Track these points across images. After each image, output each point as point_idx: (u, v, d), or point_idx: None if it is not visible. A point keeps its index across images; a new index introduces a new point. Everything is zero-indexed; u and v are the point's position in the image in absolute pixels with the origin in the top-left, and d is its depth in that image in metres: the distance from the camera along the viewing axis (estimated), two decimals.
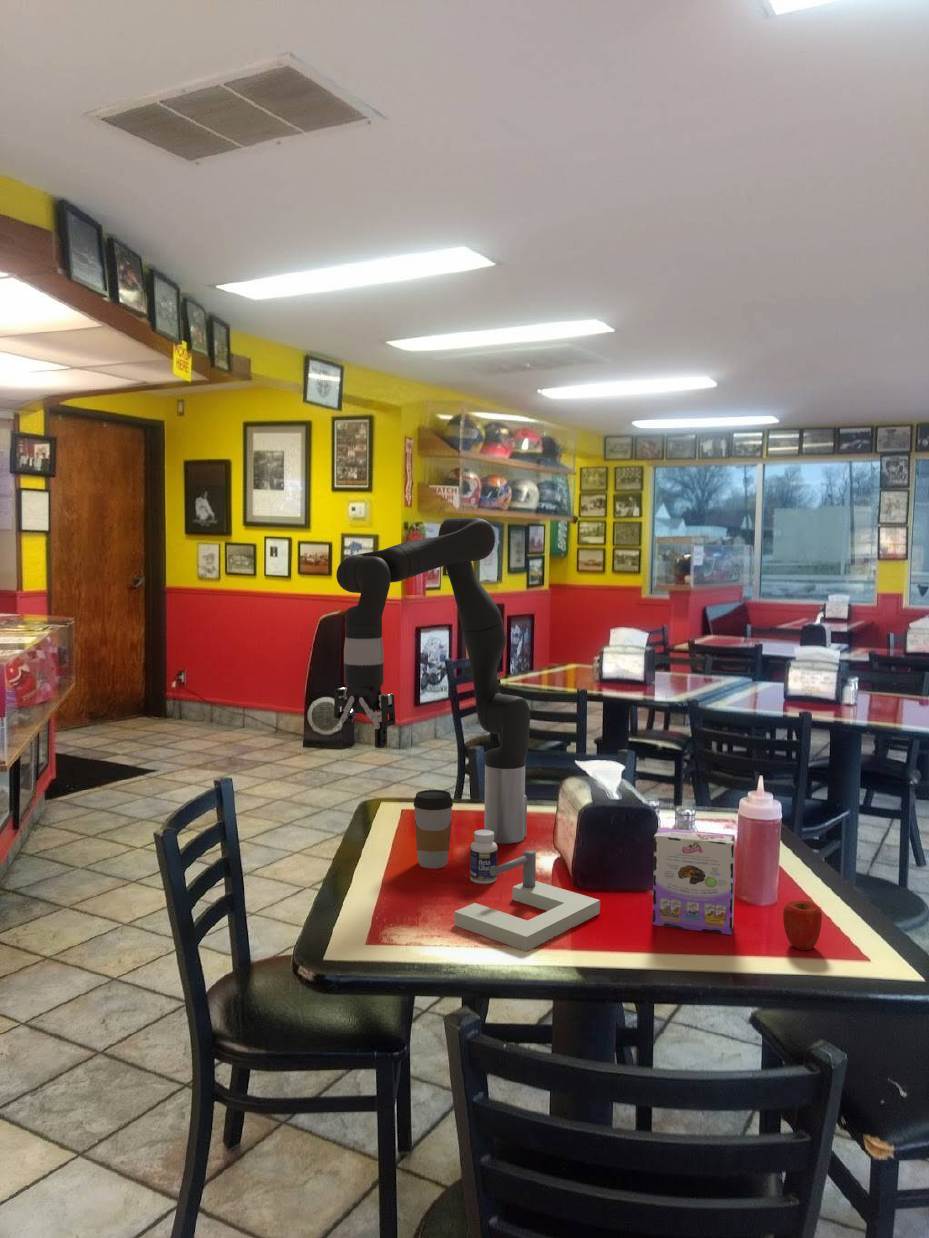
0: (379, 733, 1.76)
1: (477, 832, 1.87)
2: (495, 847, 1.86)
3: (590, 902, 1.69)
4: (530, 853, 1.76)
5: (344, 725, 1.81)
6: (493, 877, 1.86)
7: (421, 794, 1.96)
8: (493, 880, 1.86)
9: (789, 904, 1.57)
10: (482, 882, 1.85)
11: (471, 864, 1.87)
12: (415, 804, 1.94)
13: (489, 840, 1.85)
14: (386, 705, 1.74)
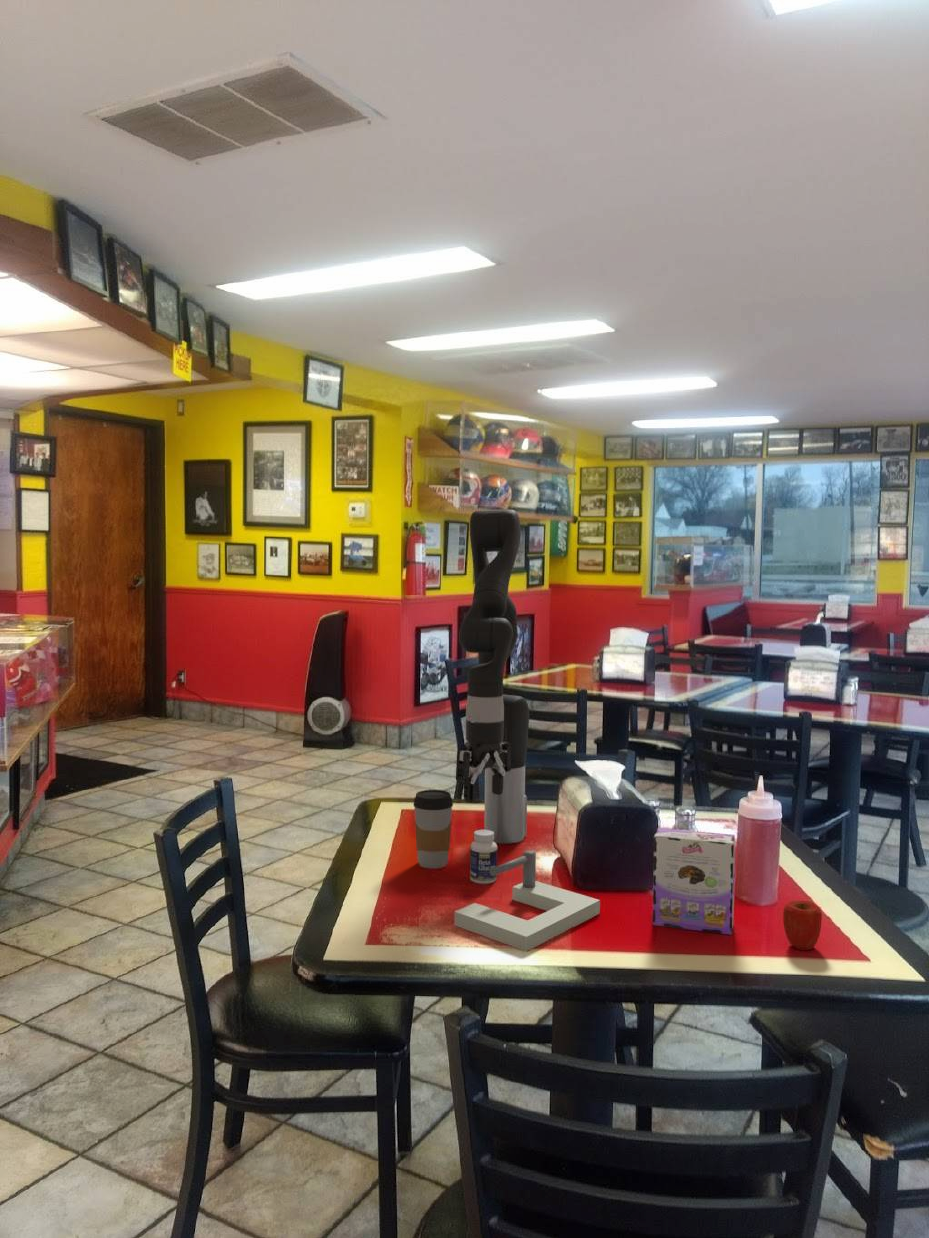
0: None
1: (477, 832, 1.87)
2: (495, 847, 1.86)
3: (590, 902, 1.69)
4: (530, 853, 1.76)
5: (474, 786, 1.82)
6: (493, 877, 1.86)
7: (421, 794, 1.96)
8: (493, 880, 1.86)
9: (789, 904, 1.57)
10: (482, 882, 1.85)
11: (471, 864, 1.87)
12: (415, 804, 1.94)
13: (489, 840, 1.85)
14: None
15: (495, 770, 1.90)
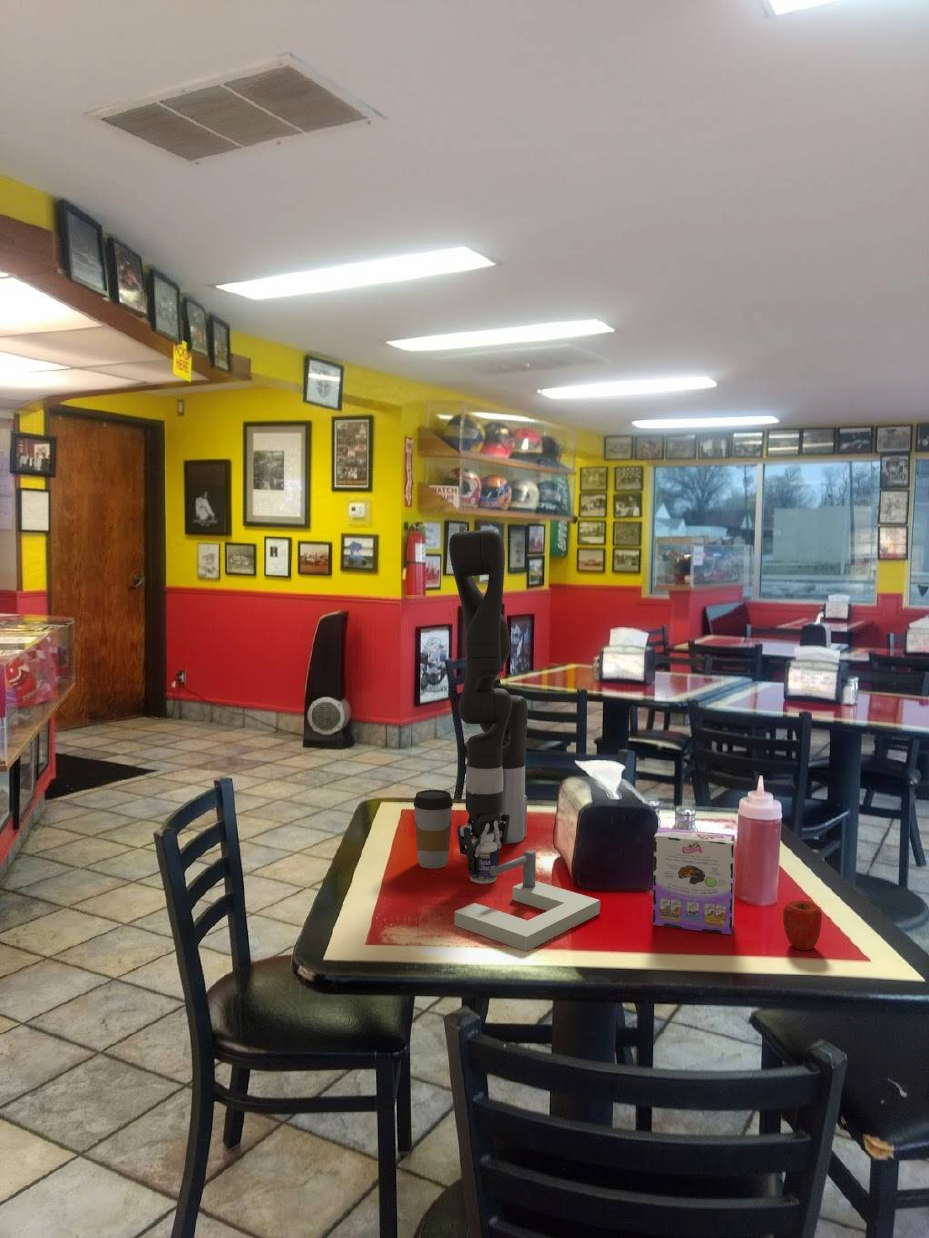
0: None
1: None
2: (495, 847, 1.86)
3: (590, 902, 1.69)
4: (530, 853, 1.76)
5: (478, 858, 1.84)
6: (493, 877, 1.86)
7: (421, 794, 1.96)
8: (493, 880, 1.86)
9: (789, 904, 1.57)
10: (482, 882, 1.85)
11: None
12: (415, 804, 1.94)
13: (489, 840, 1.85)
14: None
15: None
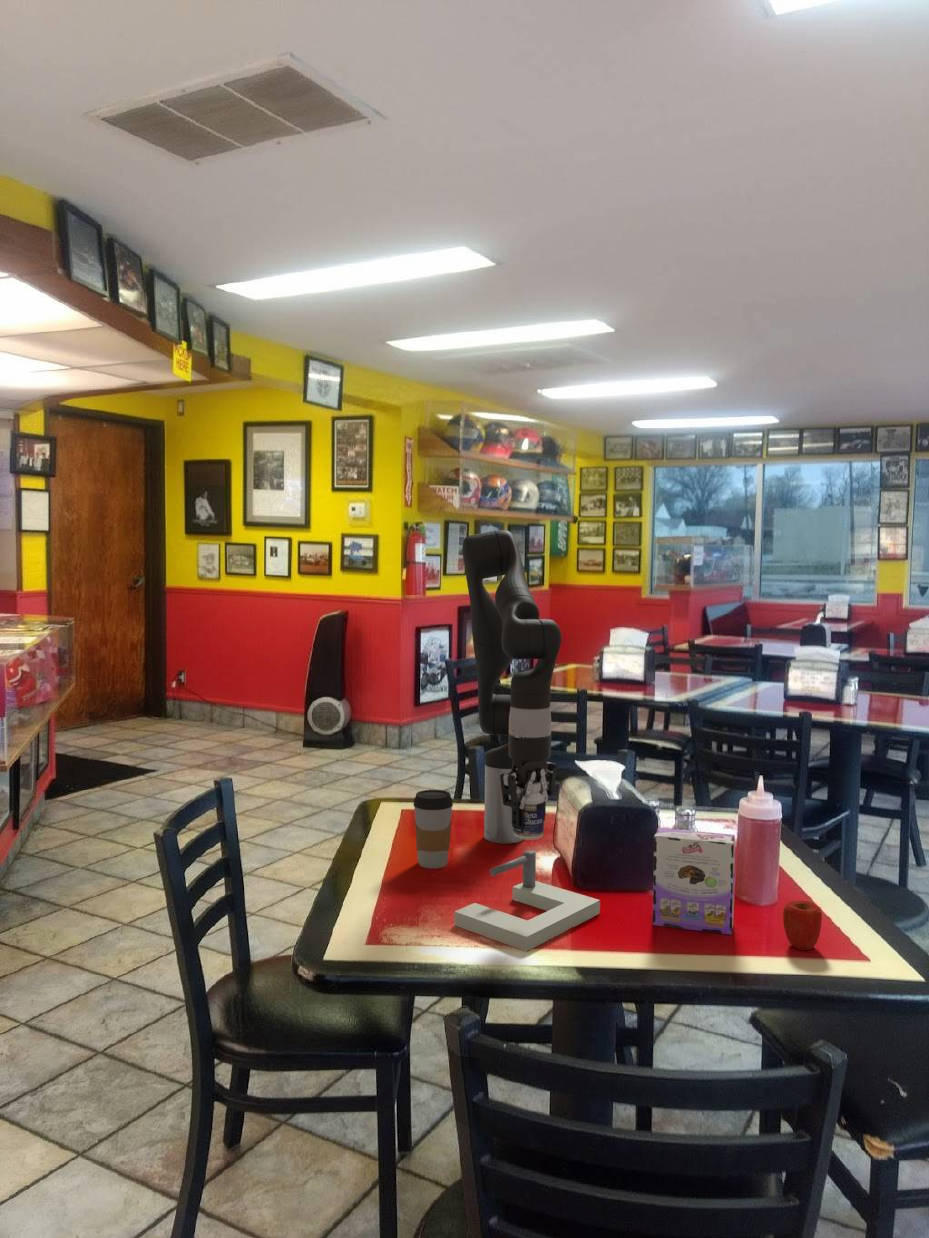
0: (544, 806, 1.69)
1: None
2: (542, 798, 1.65)
3: (590, 902, 1.69)
4: (530, 853, 1.76)
5: (523, 811, 1.63)
6: (540, 832, 1.65)
7: (421, 794, 1.96)
8: (540, 836, 1.65)
9: (789, 904, 1.57)
10: (528, 838, 1.64)
11: None
12: (415, 804, 1.94)
13: (535, 790, 1.64)
14: None
15: None
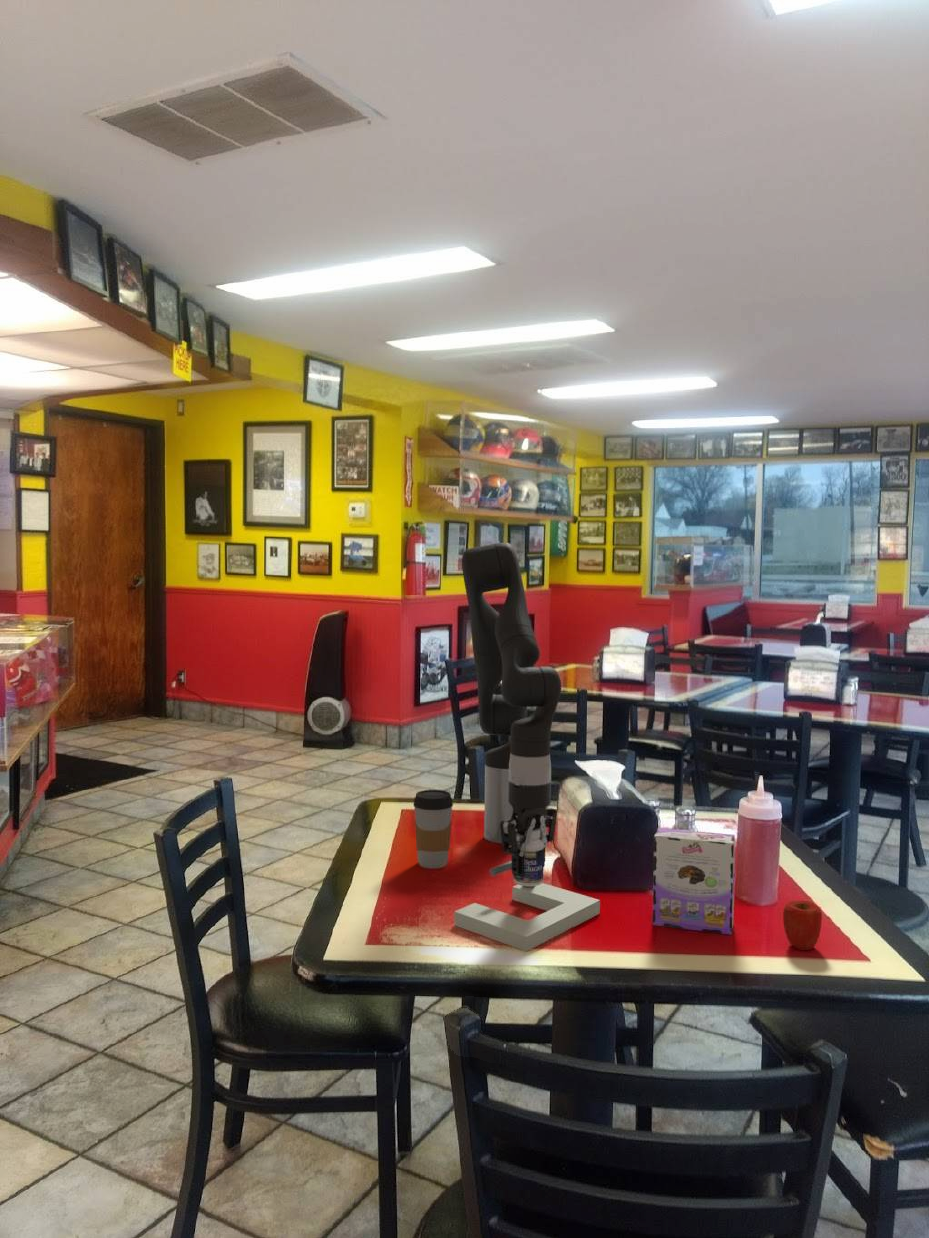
0: None
1: None
2: (542, 845, 1.66)
3: (590, 902, 1.69)
4: None
5: (523, 858, 1.64)
6: (539, 879, 1.65)
7: (421, 794, 1.96)
8: (539, 882, 1.66)
9: (789, 904, 1.57)
10: (527, 884, 1.65)
11: None
12: (415, 804, 1.94)
13: (535, 837, 1.65)
14: None
15: None
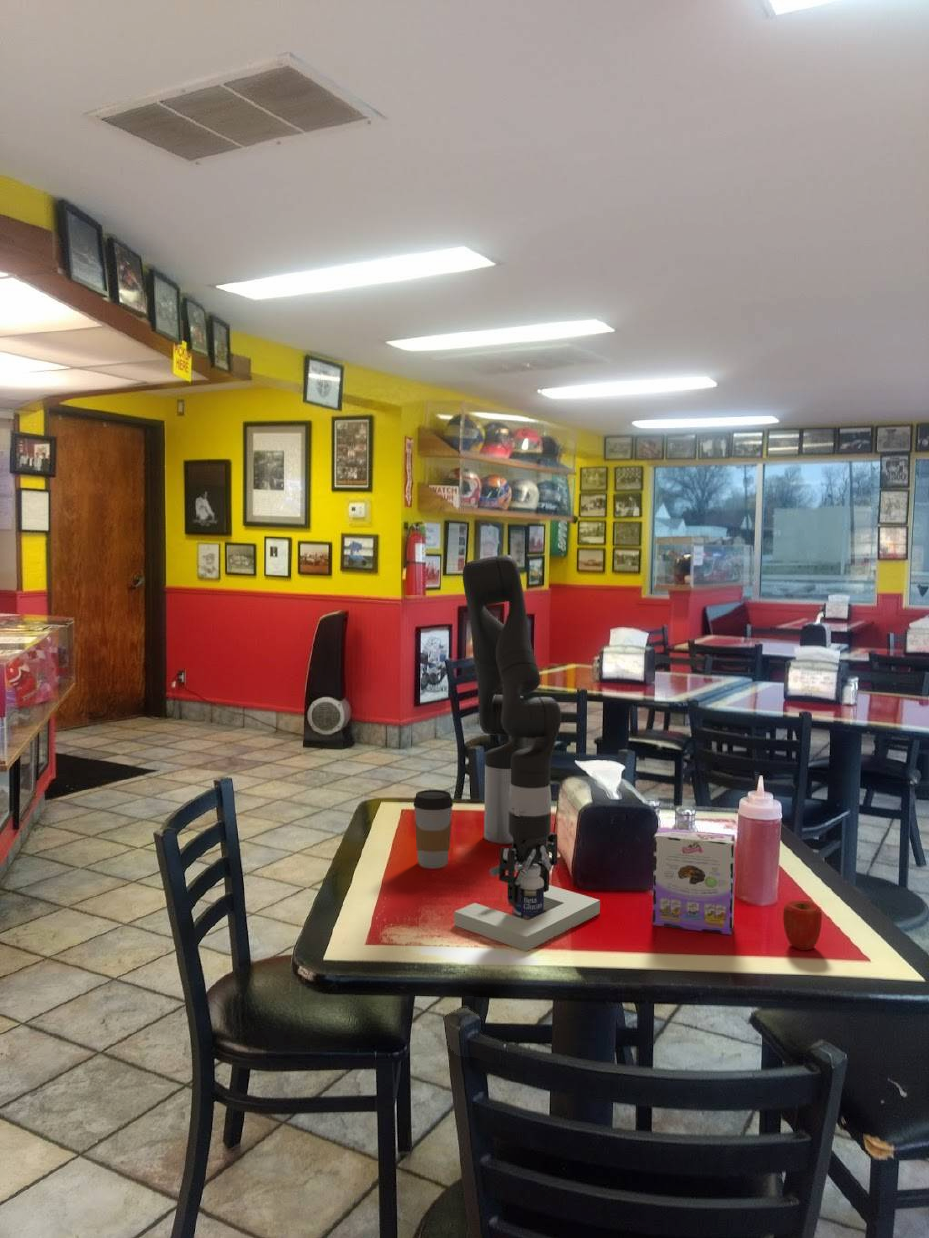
0: None
1: None
2: (542, 883, 1.66)
3: (590, 902, 1.69)
4: None
5: (519, 886, 1.63)
6: None
7: (421, 794, 1.96)
8: None
9: (789, 904, 1.57)
10: None
11: None
12: (415, 804, 1.94)
13: (535, 875, 1.66)
14: None
15: (540, 864, 1.71)
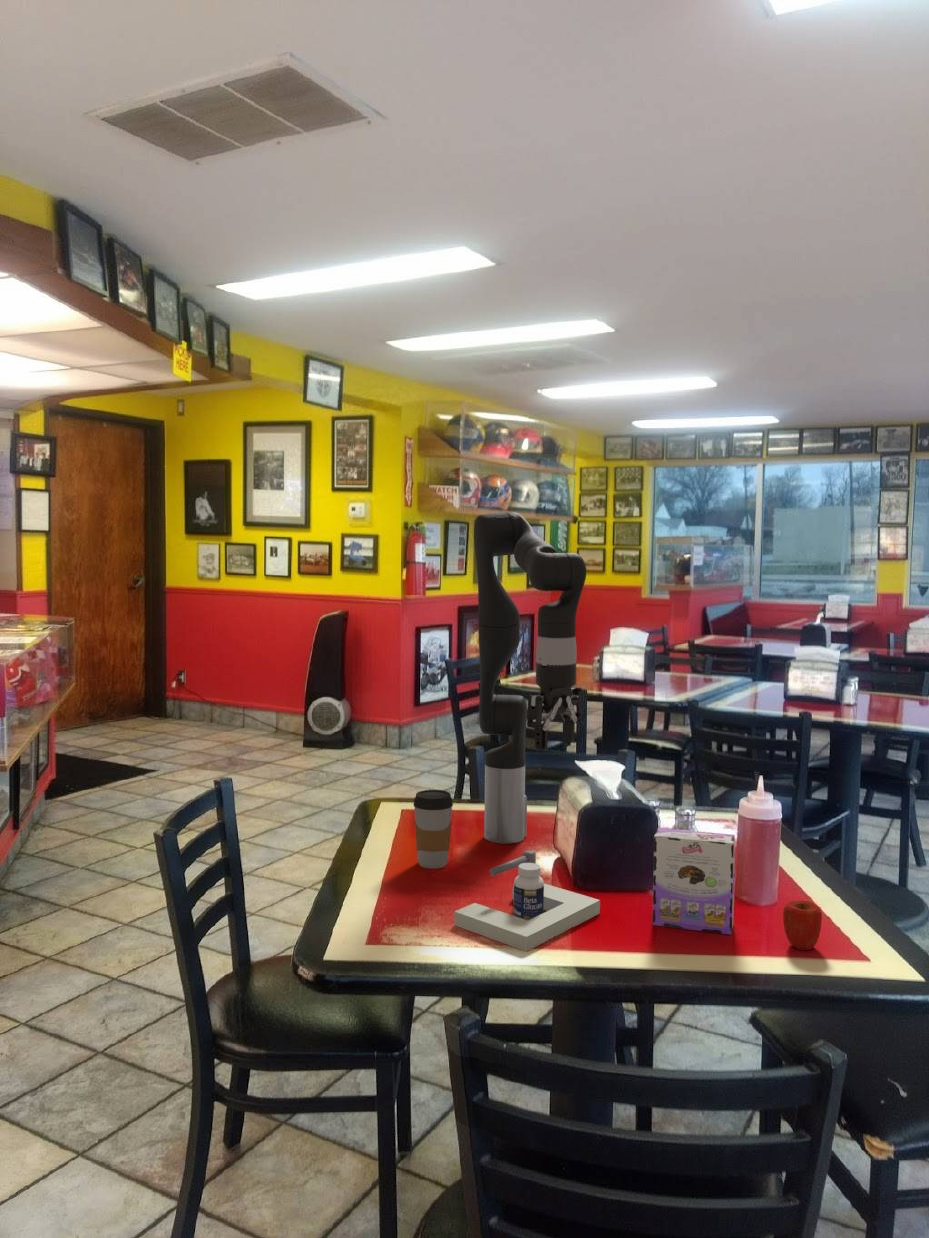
0: None
1: (521, 866, 1.67)
2: (542, 883, 1.66)
3: (590, 902, 1.69)
4: (530, 853, 1.76)
5: (546, 732, 1.71)
6: None
7: (421, 794, 1.96)
8: None
9: (789, 904, 1.57)
10: None
11: (515, 902, 1.67)
12: (415, 804, 1.94)
13: (535, 875, 1.66)
14: None
15: (566, 716, 1.78)
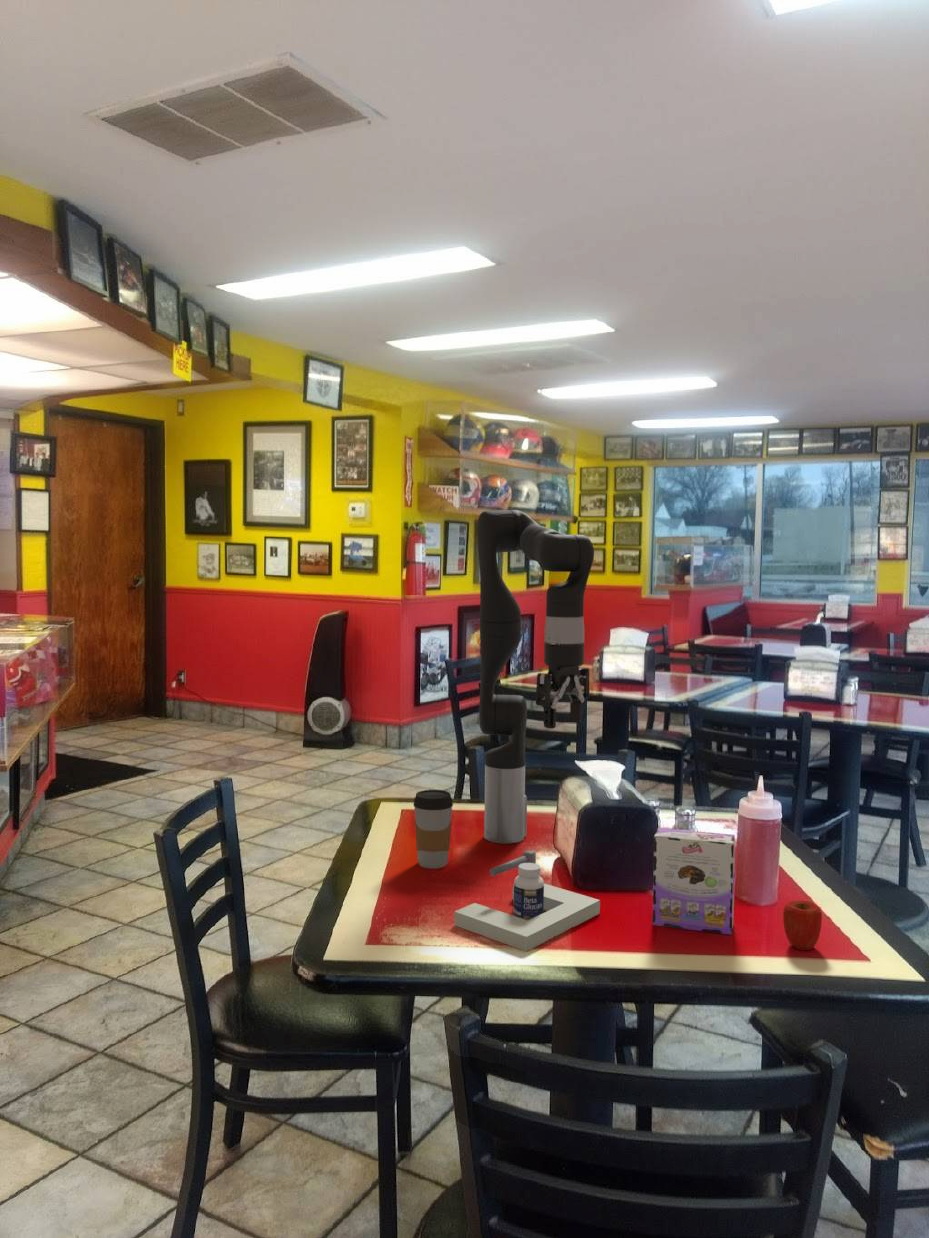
0: None
1: (521, 866, 1.67)
2: (542, 883, 1.66)
3: (590, 902, 1.69)
4: (530, 853, 1.76)
5: (554, 710, 1.74)
6: None
7: (421, 794, 1.96)
8: None
9: (789, 904, 1.57)
10: None
11: (515, 902, 1.67)
12: (415, 804, 1.94)
13: (535, 875, 1.66)
14: None
15: (573, 697, 1.81)
